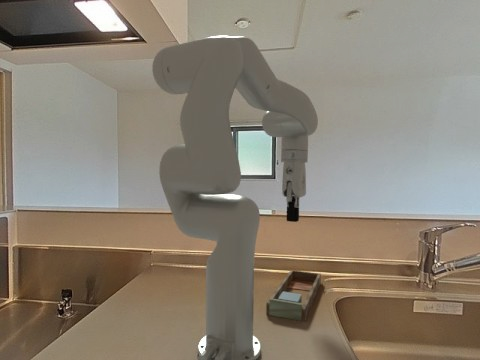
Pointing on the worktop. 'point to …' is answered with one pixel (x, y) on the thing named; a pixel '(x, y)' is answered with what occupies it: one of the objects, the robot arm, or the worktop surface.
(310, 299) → the open box
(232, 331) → the robot arm
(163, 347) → the worktop surface
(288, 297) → the block
